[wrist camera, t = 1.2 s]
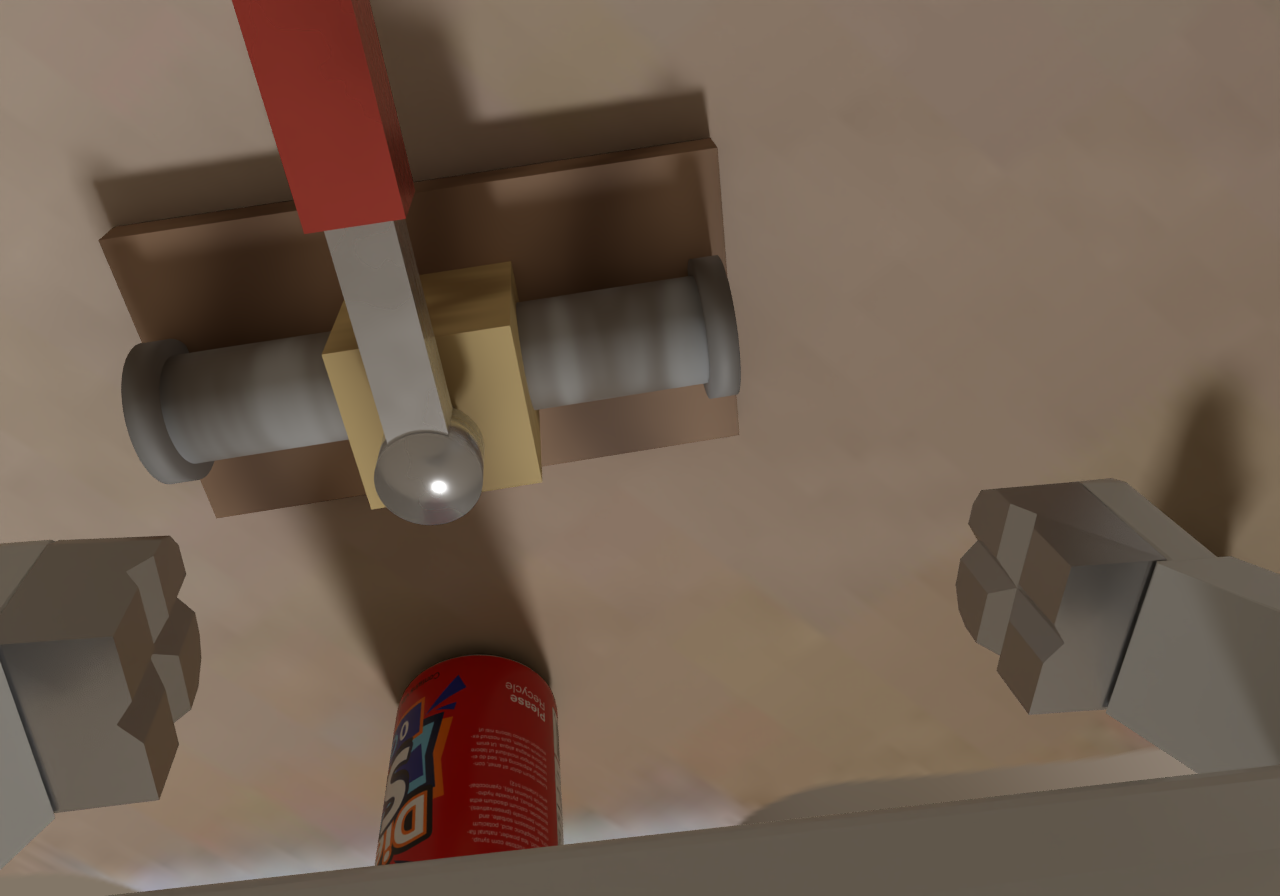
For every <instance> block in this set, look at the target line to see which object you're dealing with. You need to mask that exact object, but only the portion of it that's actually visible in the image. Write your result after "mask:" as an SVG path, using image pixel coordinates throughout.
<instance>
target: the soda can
mask: <svg viewBox="0 0 1280 896" xmlns="http://www.w3.org/2000/svg"><path fill="white" fill-rule="evenodd" d="M558 845H564V839H563V818H562V796H561V775H560V754H559V733H558V715H557V707H556V702H555V698H554V695H553V693H552V691H551V689H550V687H549V686H548V685H547V683H546V682H545V681H544V680H543V679H542V678H541V677H540V676H539V675H538V674H537V673H536V672H534V671H533V670H532V669H530V668H529V667H527V666H525V665H523V664H521V663H519V662H517V661H514V660H511V659H508V658H504V657H500V656H494V655H465V656H459V657H455V658H451V659H447V660H444V661H442V662H439V663H437V664H435V665H433V666H431V667H429V668H428V669H426V670H425V671H423V672H422V673H421V674H419V675H418V676H417V677H416V678H415V679H414V680H413V681H412V682H411V683H410V684H409V685H408V687H407V688H406V690H405V691H404V693H403V695H402V697H401V700H400V703H399V706H398V710H397V716H396V722H395V729H394V736H393V743H392V750H391V757H390V763H389V770H388V777H387V784H386V791H385V798H384V805H383V812H382V819H381V826H380V832H379V839H378V846H377V853H376V860H375V866H379V865H387V864H396V863H405V862H414V861H423V860H432V859H441V858H450V857H459V856H468V855H477V854H486V853H495V852H504V851H513V850H522V849H531V848H540V847H549V846H558Z"/></svg>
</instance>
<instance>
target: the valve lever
mask: <svg viewBox="0 0 1280 896" xmlns="http://www.w3.org/2000/svg"><path fill="white" fill-rule="evenodd" d="M232 2H233V5H234V9H235V12H236V15H237V18H238V22H239V25H240V28H241V31H242V35H243V38H244V41H245V44H246V47H247V51H248V54H249V57H250V60H251V64H252V67H253V70H254V73H255V77H256V80H257V83H258V86H259V90H260V93H261V96H262V99H263V102H264V106H265V109H266V112H267V115H268V119H269V122H270V125H271V128H272V132H273V135H274V138H275V141H276V144H277V148H278V151H279V154H280V157H281V161H282V164H283V167H284V170H285V174H286V177H287V180H288V183H289V187H290V190H291V193H292V196H293V199H294V203H295V206H296V209H297V212H298V216H299V219H300V222H301V225H302V229H303V232H304V234H308V233H315V232H322V231H324V233H325V236H326V240H327V243H328V247H329V250H330V253H331V257H332V260H333V263H334V267H335V270H336V273H337V277H338V280H339V284H340V287H341V290H342V294H343V297H344V300H345V304H346V307H347V310H348V314H349V317H350V320H351V324H352V327H353V331H354V334H355V337H356V341H357V344H358V347H359V351H360V354H361V357H362V361H363V364H364V367H365V371H366V374H367V378H368V381H369V384H370V388H371V391H372V394H373V398H374V401H375V404H376V408H377V411H378V414H379V418H380V421H381V425H382V428H383V431H384V434H383V438H382V442H381V447H380V451H379V455H378V459H377V463H376V467H375V471H374V485H375V489H376V492H377V494H378V496H379V498H380V500H381V501H382V503H383V504H384V505H385V506H386V507H387V508H388V509H389V510H390V511H391V512H392V513H394V514H395V515H397V516H398V517H400V518H402V519H404V520H406V521H409V522H412V523H416V524H422V525H439V524H444V523H448V522H451V521H454V520H456V519H458V518H460V517H462V516H464V515H465V514H466V513H468V512H469V511H470V510H471V509H472V508H473V507H474V505H475V504H476V502H477V501H478V499H479V497H480V494H481V491H482V486H483V471H484V454H485V444H484V439H483V436H482V433H481V431H480V429H479V427H478V426H477V424H476V423H475V422H474V421H473V420H472V419H471V418H470V417H469V416H468V415H467V414H465V413H464V412H462V411H460V410H459V409H457V408H454V407H452V404H451V400H450V396H449V392H448V388H447V384H446V380H445V376H444V372H443V368H442V364H441V360H440V356H439V352H438V348H437V344H436V340H435V336H434V332H433V328H432V324H431V320H430V316H429V312H428V308H427V304H426V300H425V296H424V293H423V289H422V285H421V281H420V277H419V273H418V269H417V265H416V261H415V257H414V253H413V249H412V245H411V241H410V237H409V233H408V229H407V225H406V221H405V219H406V217H407V214H408V211H409V208H410V205H411V202H412V199H413V196H414V193H415V187H414V183H413V179H412V175H411V171H410V167H409V163H408V158H407V154H406V150H405V146H404V142H403V138H402V134H401V130H400V125H399V121H398V117H397V113H396V109H395V105H394V101H393V96H392V92H391V88H390V84H389V80H388V76H387V72H386V67H385V63H384V59H383V55H382V51H381V47H380V43H379V39H378V34H377V30H376V26H375V22H374V18H373V14H372V10H371V5H370V1H369V0H232Z"/></svg>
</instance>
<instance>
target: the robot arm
mask: <svg viewBox="0 0 1280 896" xmlns="http://www.w3.org/2000/svg"><path fill="white" fill-rule="evenodd" d="M968 524H969V526H970V528H971V530H972V531H973V533H974V535H975V537H976V538H977V542H976V543H975V544H974V545H973V546H972V547H971V548H970V549H969V550H968V551H967V552H966V553H965V554H964V555H963V557H962V558H961V559H960V564H959V569H958V575H957V580H956V592H957V601H958V609H959V612H960V614H961V617H962V620H963V622H964V625H965V627H966V629H967V630H968V631H969V633H970V634H971V636H972V637H973V639H974V640H975V642H976V643H978V644H980V645H981V646H983V647H985V648H987V649H989V650H991V651H993V652H994V653H996V654H998V655H1000V658H999V662H998V666H997V672H998V673H999V675H1000V676H1001V678H1002V679H1003V680H1004V682H1005V683H1006V684H1007V686H1008V687H1009V688H1010V690H1011V691H1012V693H1013V694H1014V695H1015V697H1016V698H1017V699H1018V701H1019V702H1020V703H1021V705H1022V706H1023V708H1024V709H1025V710H1026V712H1027V713H1028V714H1029V715H1032V714H1046V713H1060V712H1075V711H1089V710H1104V709H1107V711H1106V713H1107V714H1108V715H1110V716H1111V717H1113V718H1114V719H1116V720H1117V721H1119V722H1120V723H1122V724H1123V725H1125V726H1126V727H1128V728H1129V729H1131V730H1132V731H1134V732H1136V733H1137V734H1139V735H1140V736H1142V737H1143V738H1145V739H1146V740H1148V741H1149V742H1151V743H1152V744H1154V745H1155V746H1157V747H1158V748H1160V749H1161V750H1163V751H1164V752H1166V753H1167V754H1169V755H1170V756H1172V757H1174V758H1175V759H1177V760H1178V761H1180V762H1181V763H1183V764H1184V765H1186V766H1187V767H1189V768H1190V769H1192V770H1193V771H1195V772H1196V773H1198V774H1192V775H1183V776H1174V777H1165V778H1156V779H1147V780H1138V781H1130V782H1121V783H1112V784H1103V785H1094V786H1084V787H1076V788H1067V789H1058V790H1049V791H1040V792H1031V793H1022V794H1014V795H1004V796H995V797H986V798H978V799H968V800H959V801H950V802H943V803H942V802H941V803H932V804H924V805H915V806H905V807H896V808H888V809H879V810H869V811H861V812H852V813H844V814H834V815H825V816H817V817H808V818H799V819H790V820H781V821H774V822H764V823H756V824H746V825H737V826H728V827H719V828H710V829H701V830H692V831H683V832H674V833H665V834H656V835H647V836H638V837H629V838H621V839H612V840H603V841H594V842H585V843H576V844H567V845H558V846H549V847H540V848H531V849H522V850H513V851H504V852H495V853H486V854H477V855H468V856H459V857H450V858H441V859H432V860H423V861H414V862H405V863H396V864H387V865H379V866H370V867H361V868H352V869H343V870H334V871H325V872H316V873H307V874H298V875H289V876H280V877H271V878H262V879H253V880H244V881H235V882H226V883H217V884H208V885H199V886H190V887H181V888H172V889H163V890H154V891H146V892H137V893H128V894H119V895H110V896H1280V574H1277V573H1275V572H1272V571H1269V570H1267V569H1264V568H1261V567H1258V566H1256V565H1253V564H1250V563H1248V562H1245V561H1242V560H1239V559H1237V558H1234V557H1231V556H1227V557H1216V556H1215V555H1214V554H1213V553H1212V552H1210V551H1209V550H1208V549H1207V548H1206V547H1204V546H1203V545H1202V544H1201V543H1199V542H1198V541H1197V540H1196V539H1195V538H1193V537H1192V536H1191V535H1190V534H1188V533H1187V532H1186V531H1185V530H1184V529H1182V528H1181V527H1180V526H1179V525H1177V524H1176V523H1175V522H1174V521H1173V520H1171V519H1170V518H1169V517H1168V516H1167V515H1165V514H1164V513H1163V512H1162V511H1160V510H1159V509H1158V508H1157V507H1156V506H1154V505H1153V504H1152V503H1151V502H1149V501H1148V500H1147V499H1146V498H1145V497H1143V496H1142V495H1141V494H1140V493H1138V492H1137V491H1136V490H1135V489H1134V488H1132V487H1131V486H1130V485H1129V484H1128V483H1126V482H1124V481H1120V480H1117V479H1113V478H1108V479H1098V480H1088V481H1078V482H1069V483H1057V484H1046V485H1034V486H1022V487H1010V488H999V489H988V490H981V491H980V493H979V495H978V496H977V498H976V500H975V501H974V503H973V506H972V510H971V514H970V519H969V523H968ZM185 576H186V571H185V567H184V564H183V560H182V556H181V552H180V549H179V545H178V544H177V543H176V542H175V541H174V540H173V538H172V537H171V536H150V537H125V538H100V539H75V540H58V541H53V540H42V541H28V542H14V543H1V544H0V870H1V869H2V868H3V867H4V866H5V865H6V864H7V863H8V862H9V861H10V860H11V859H12V858H13V857H14V856H15V855H17V854H18V853H19V852H20V851H21V850H22V849H23V848H24V847H25V846H26V845H27V844H28V843H29V842H30V841H31V840H32V839H34V838H35V837H36V836H37V835H38V834H39V833H40V832H41V831H42V830H43V829H44V828H45V827H46V826H47V825H48V824H49V823H50V822H52V821H53V820H54V819H55V815H54V813H59V812H67V811H75V810H83V809H91V808H99V807H107V806H115V805H123V804H131V803H139V802H147V801H155V800H159V799H160V796H161V793H162V791H163V788H164V785H165V782H166V779H167V777H168V774H169V771H170V768H171V765H172V762H173V760H174V757H175V754H176V751H177V748H178V746H179V742H178V738H177V734H176V730H175V726H174V722H176V721H177V720H178V719H180V718H181V717H182V716H183V715H185V714H186V713H187V712H188V711H190V710H191V708H192V705H193V702H194V699H195V696H196V692H197V689H198V685H199V675H200V666H201V646H200V634H199V629H198V624H197V619H196V615H195V612H194V611H193V610H191V609H190V608H189V607H188V606H187V605H185V604H184V603H183V602H182V601H181V600H179V599H178V598H177V595H178V593H179V591H180V588H181V586H182V583H183V581H184V579H185Z"/></svg>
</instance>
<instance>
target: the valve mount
mask: <svg viewBox="0 0 1280 896" xmlns="http://www.w3.org/2000/svg"><path fill="white" fill-rule="evenodd" d="M413 183H414V187H415V193H414V196H413V199H412V202H411V205H410V208H409V211H408V214H407V217H406V219H405V221H406V225H407V229H408V233H409V237H410V241H411V245H412V249H413V253H414V257H415V261H416V265H417V269H418V273H419V277H420V281H421V285H422V289H423V293H424V296H425V300H426V304H427V308H428V312H429V316H430V320H431V324H432V328H433V332H434V336H435V340H436V344H437V348H438V352H439V356H440V360H441V364H442V368H443V372H444V376H445V380H446V384H447V388H448V392H449V396H450V400H451V404H452V407H454V408H457V409H459V410H460V411H462V412H464V413H465V414H467V415H468V416H469V417H470V418H471V419H472V420H473V421H474V422H475V423H476V424H477V426H478V427H479V429H480V431H481V433H482V436H483V439H484V444H485V454H484V471H483V486H482V491H481V492H485V491H491V490H497V489H503V488H510V487H516V486H522V485H528V484H535V483H541V482H542V466H548V465H554V464H560V463H567V462H573V461H579V460H586V459H592V458H598V457H604V456H611V455H617V454H623V453H629V452H636V451H642V450H648V449H655V448H661V447H667V446H673V445H680V444H686V443H692V442H698V441H705V440H711V439H717V438H724V437H730V436H736V435H739V423H738V410H737V397H736V395H737V394H738V393H739V390H740V380H741V367H740V351H739V340H738V332H737V324H736V317H735V311H734V306H733V300H732V295H731V291H730V286H729V282H728V278H727V266H726V253H725V240H724V227H723V214H722V201H721V188H720V175H719V162H718V149H717V146H716V145H715V144H714V142H713V141H712V140H711V138H707V139H700V140H693V141H687V142H680V143H673V144H666V145H660V146H653V147H646V148H640V149H633V150H626V151H620V152H613V153H606V154H599V155H593V156H586V157H579V158H573V159H566V160H559V161H553V162H546V163H539V164H533V165H526V166H519V167H512V168H506V169H499V170H492V171H486V172H479V173H472V174H466V175H459V176H452V177H446V178H439V179H432V180H425V181H419V182H413ZM99 242H100V245H101V247H102V250H103V252H104V254H105V257H106V259H107V261H108V264H109V266H110V268H111V271H112V273H113V275H114V278H115V280H116V282H117V285H118V287H119V290H120V292H121V294H122V297H123V299H124V301H125V304H126V306H127V308H128V311H129V313H130V315H131V318H132V320H133V323H134V325H135V327H136V330H137V332H138V334H139V337H140V339H141V341H142V343H140V344H138V345H136V346H134V347H133V348H132V349H131V351H130V352H129V354H128V356H127V358H126V360H125V364H124V367H123V373H122V384H121V393H122V405H123V412H124V417H125V422H126V426H127V430H128V433H129V436H130V439H131V442H132V444H133V447H134V449H135V451H136V453H137V455H138V457H139V459H140V461H141V462H142V464H143V465H144V467H145V468H146V469H147V471H148V472H149V473H150V474H151V475H152V476H153V477H154V478H155V479H157V480H158V481H160V482H162V483H165V484H175V483H182V482H188V481H194V480H201V483H202V485H203V487H204V490H205V492H206V494H207V497H208V499H209V502H210V504H211V506H212V509H213V511H214V513H215V516H216V518H222V517H228V516H234V515H241V514H247V513H253V512H259V511H266V510H272V509H278V508H284V507H291V506H297V505H303V504H310V503H316V502H322V501H328V500H335V499H341V498H347V497H353V496H360V495H367V498H368V501H369V504H370V507H371V510H372V509H378V508H385V507H386V506H385V505H384V504H383V503H382V501H381V500H380V498H379V496H378V494H377V492H376V489H375V485H374V471H375V467H376V463H377V459H378V455H379V451H380V447H381V442H382V438H383V434H384V431H383V428H382V425H381V421H380V418H379V414H378V411H377V408H376V404H375V401H374V398H373V394H372V391H371V388H370V384H369V381H368V378H367V374H366V371H365V367H364V364H363V361H362V357H361V354H360V351H359V347H358V344H357V341H356V337H355V334H354V331H353V327H352V324H351V320H350V317H349V314H348V310H347V307H346V304H345V300H344V297H343V294H342V290H341V287H340V284H339V280H338V277H337V273H336V270H335V267H334V263H333V260H332V257H331V253H330V250H329V247H328V243H327V240H326V236H325V233H324V231H322V232H315V233H308V234H304V232H303V229H302V225H301V222H300V219H299V216H298V212H297V209H296V206H295V203H294V200H292V201H285V202H278V203H271V204H265V205H258V206H251V207H245V208H238V209H231V210H225V211H218V212H211V213H205V214H198V215H191V216H184V217H178V218H171V219H164V220H158V221H151V222H144V223H138V224H131V225H124V226H117V227H113V228H112V229H111V230H110V231H109V232H108V233H106V234H105V235H104V236H103V237H102V238H101V239H100V240H99Z"/></svg>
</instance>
